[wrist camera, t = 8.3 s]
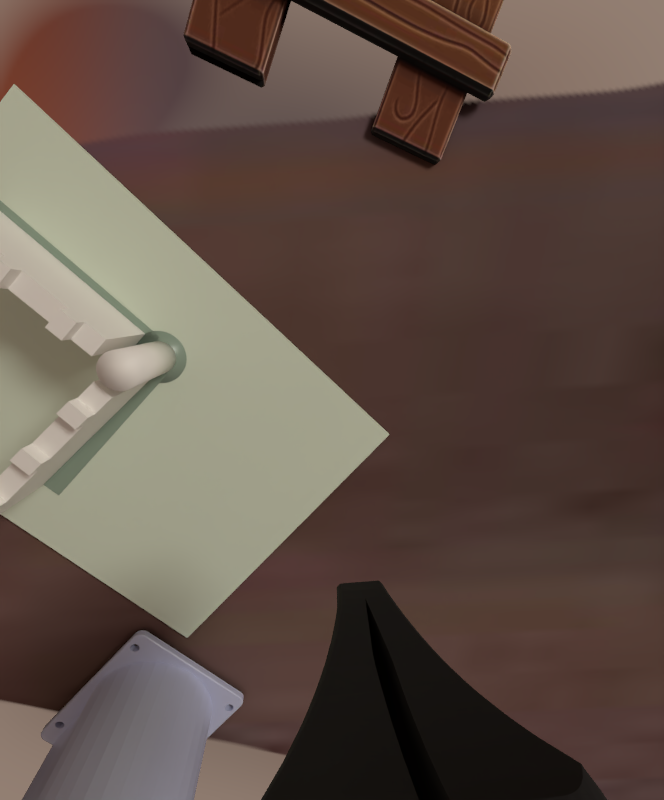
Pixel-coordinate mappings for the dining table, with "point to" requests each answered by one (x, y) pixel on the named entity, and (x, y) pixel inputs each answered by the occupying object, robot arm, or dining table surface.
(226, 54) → the decorative fence
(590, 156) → the dining table surface
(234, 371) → the card
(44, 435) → the folding fence panel
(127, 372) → the fence post and fixed panel
